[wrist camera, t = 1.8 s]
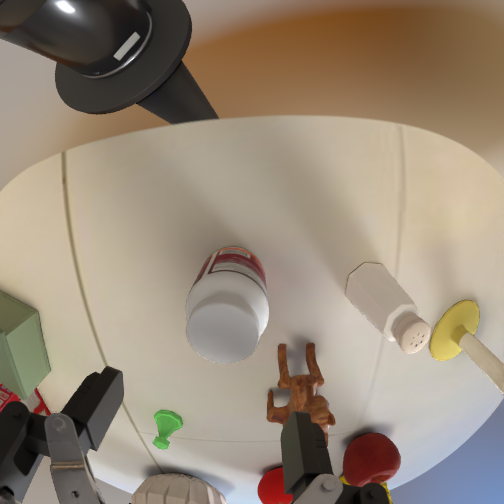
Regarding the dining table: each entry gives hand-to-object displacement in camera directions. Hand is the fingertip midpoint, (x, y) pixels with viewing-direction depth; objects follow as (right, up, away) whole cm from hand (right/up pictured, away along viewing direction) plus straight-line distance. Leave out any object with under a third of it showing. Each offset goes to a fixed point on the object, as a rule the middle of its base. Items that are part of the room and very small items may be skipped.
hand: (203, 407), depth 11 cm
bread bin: (-35, -6, +20) cm, 41 cm away
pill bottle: (0, +5, +16) cm, 17 cm away
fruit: (+8, -34, +27) cm, 44 cm away
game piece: (-10, -18, +23) cm, 30 cm away
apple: (+21, -25, +24) cm, 41 cm away
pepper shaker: (+14, +4, +17) cm, 22 cm away
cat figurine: (+7, -10, +20) cm, 24 cm away
